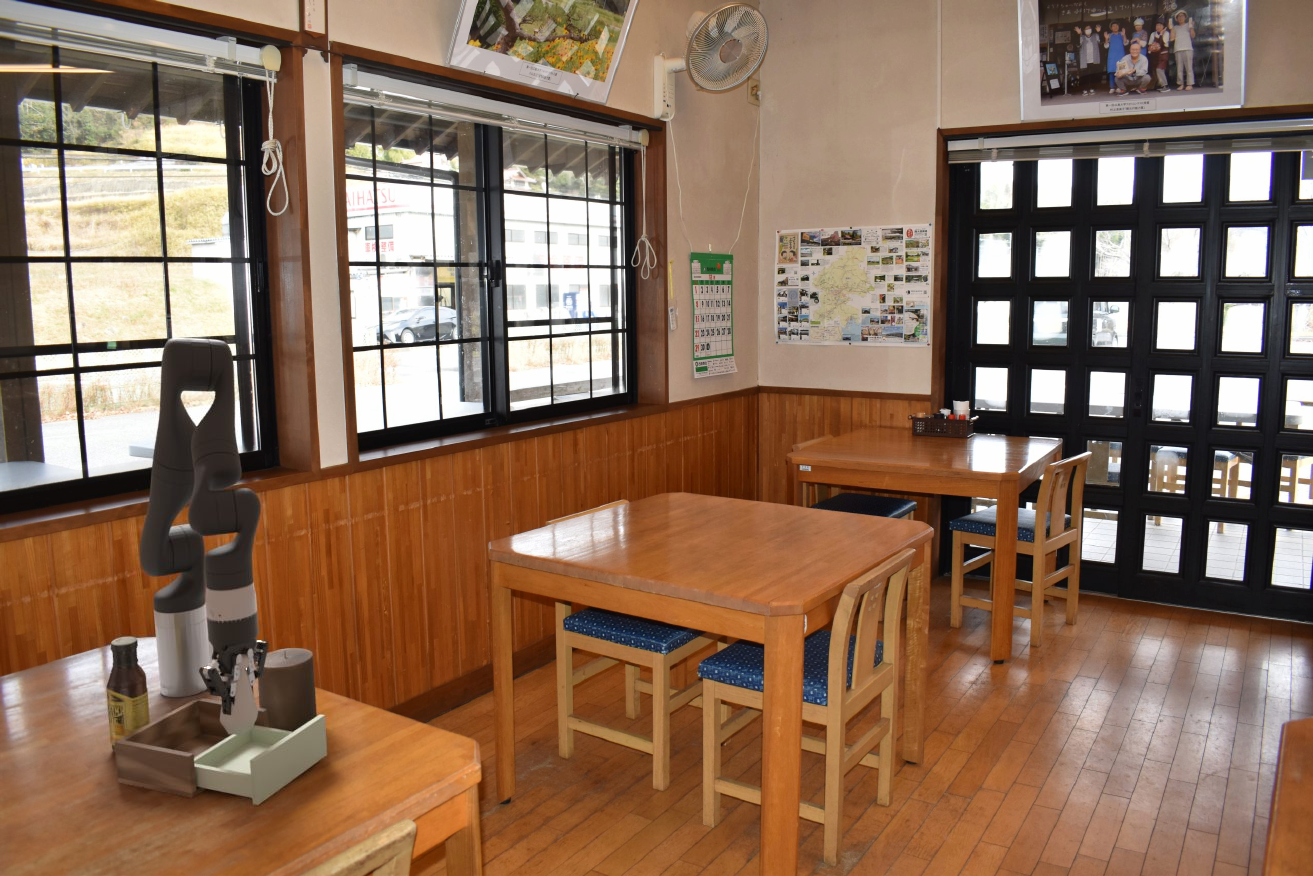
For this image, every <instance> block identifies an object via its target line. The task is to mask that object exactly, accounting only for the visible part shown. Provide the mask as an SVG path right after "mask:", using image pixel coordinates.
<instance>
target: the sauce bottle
mask: <svg viewBox="0 0 1313 876" xmlns="http://www.w3.org/2000/svg"><path fill="white" fill-rule="evenodd" d="M138 646H139V644H138V638H137V637H135V636H122V637H117V638H115V639H113V640H112V641H111V643H110V650H111V652H112V667H111V670H110V673H109V675H108V676H109V677H108V681H107V684H106V686H105V687H106V688H105V689H106V701H107V713H108V715H107V716H108V728H109V741H110V743H111V744H110V745H111V750H112V751H113V752H114V753H115V743H114V742H116V741H118V740H120V739H121V738H123V737H125V736H127V735H129V734H131V733H133V732H135V731H136V730H138V729H140V728H142V727H144V726H146V725H148V724H149V723H151V721H150V706H149V705H150V704H149V691H148V685H147V675H146V673H145V670H144V669H143V668H142V666H140V664H139V658H138Z"/></svg>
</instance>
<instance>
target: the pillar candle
mask: <svg viewBox="0 0 1313 876" xmlns="http://www.w3.org/2000/svg"><path fill="white" fill-rule="evenodd" d="M257 664H258V663H257V662H255V665H257ZM315 680H316V679H315V668H314V653H313V652H312V651H311V650H309V649H307V648H306V649H305V648H298V647H294V648H293V647H291V648H289V647H288V648H282V649H278V650H274V651H270V652H267V655H266V660H265V665H264V669H263V674H262V677H261V678H257V686H258V687H257V689H258V705H259V707H258V708H263V709H267V711H268V727H269V728H274V729H280V730H285V731H291V732H294V731H295V730H297V729H298V728H300V727H301V726H303V725H305V724H306V723H308V722H309V721H311V720H312V719H314V718H315V717H317V716H318V714H317V713H318V712H317V710H318V709H317V698H316V687H315V686H316V683H315Z"/></svg>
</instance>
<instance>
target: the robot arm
mask: <svg viewBox="0 0 1313 876" xmlns="http://www.w3.org/2000/svg"><path fill="white" fill-rule="evenodd" d="M232 353H233V352H232V350H231V347H230V345H229V344H228V343H227V342H225V341H224V340H219V339H209V338H208V339H207V338H191V337H189V338H188V337H186V338H185V337H173V338H170V339H168V340H167V341H166V343H165V345H164V347H163V351H162V355H161V369H160V392H159V393H160V394H159V395H160V396H159V415H158V424H157V429H156V435H155V442H154V447H153V448H154V449H153V456H152V465H151V479H150V488H149V489H150V490H149V499H148V505H147V510H146V515H145V518H144V524H143V526H142V532H141V536H140V543H139V562H140V566H141V568H142V570H143V572H144V573H145V574H146V575H147V576H150V577H154V578H155V577H165V576H171V575H176V574H179V575H178V576H177V578H175V579H174V581H172V582H171V583H170V584H168V585H166V586H164V587H163V588H161V589H160V590H157V591H156V592H155V594H154V595H153V598H152V599H153V600H152V603H153V617H154V628H155V639H156V641H155V642H156V651H157V663H158V675H159V678H158V679H159V688H160V694H161V695H163V696H165V697H168V698H184V697H189V696H194V695H199V694H200V693H203V692H205V691H208V692H209V695H210V696H213V697H220V698H221V699H220V700H221V701H222V712H223V714H225V715H230V716H231V706H232V703H233V705H234V703H235V696H234V695H235V694H236V683H237V681H238V680H239V675H240V670H239V667H238V665H239V664H240V663H241V662H242V654H245V655H246V656H247V657H248V659H249V666H248V667H247V668H246V669H247V673H248V677H249V680H250V684H251V688H252V691H253V695H254V696H255V694H254V685H255V684H256V680H258V678H261V677H262V674H263V669H264V665H265V660H266V655H267V653H268V649H269V647H270V644H269V641H264V640H257V639H256V638H257V637H258V636H259V621H258V605H257V603H258V602H257V592H256V588H255V583H254V572H253V569H254V568H253V552H254V551H253V549H254V543H255V537H256V533H257V530H258V526H259V521H260V517H261V510H262V504H261V501H260V498H259V496H258V494H257V493H256V492H255V491H253V489H251V488H248V487H246V488H245V487H241V488H232V489H231V487H233V486H235V485H236V484H237V483H238V482H239V481H240V480H241V478H242V474H243V473H242V472H243V471H242V466H241V458H240V454H239V453H240V451H239V448H238V443H237V433H236V391H235V365H234V358H233V354H232ZM183 392H203V393H204V392H209V393H210V392H211V393H212V392H214V399H213V401H212V404H211V406H210V407H209V408H208V410H207V411H206V414H204V416H203V417H202V419H200V421H199V423H198V424H197V425H196V423H195V422H194V421H193V419H192V418H191V416H190V415H189V412H188V410H187V409H186V407H185V405H184V402H183V400H182V393H183ZM187 505H188V511H187V519H188V520H187V521H188V523H184V524H178V525H173V523H174V521H175V520H176V519H177V517H178V516H179V514H180V513H181V511H183V510H184V508H186V507H187ZM228 534H236V535H235V537H234V538H233V540H232V541H231V542H228V543H227V544H224V545H221V546H218V547H215V548H212V549H210V550H208V551H207V552H206V547H205V540H204V537H210V536H212V537H213V536H220V535H228ZM256 662H257V663H258V664H256ZM225 673H226V674H232V676H227V675H226V674H225ZM226 682H228V683H229V688H226ZM226 709H227V710H226Z"/></svg>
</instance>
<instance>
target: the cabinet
mask: <svg viewBox="0 0 1313 876" xmlns="http://www.w3.org/2000/svg"><path fill="white" fill-rule="evenodd" d="M221 707H222V700H221V701H220V700H215V699H210V698H209V699H208V698H204V697H196V698H194V699H192V700H191V701H189V702H187V703H185V704H183V705H181V706H179V707H178V708H175V709H174V710H172V711H170V712H168V713H166V714H165V715H163V716H161V717H158V719H156V720H154V721H150V723H149V724H148V725H146V726H144V727H142V728H140V729H138V730H136V731H135V732H133V733H131V734H129V735H127V736H125V737H123V738H121V739H120V740H118V741H116V742H114V743H115V752H114V753H115V763H116V774H117V775H116V776H117V783H118V782H119V784H123V783H124V784H125V785H128V784H131V785H130V786H133V785H135V786H134V787H138V786H139V787H138V788H142V787H144V788H143V789H148V790H152V791H157V792H161V793H166V792H167V794H171V793H173V794H172V795H176V794H177V795H176V796H180V795H181V797H186V798H190V799H193V798H194V797H196V796H197V795H199V794H201V793H202V792H204V791H205V790H206V789H207V788H202V787H197V786H196V777H195V764H194V758H195V757H196V756H198V755H200V754H201V753H203V752H205V751H206V750H208V749H210V748H211V747H213V746H214V745H216V744H218V743H219V742H221V741H223V740H224V739H226V738H228V737H229V736H231V735H233V734H228V732H227V730H226V729H225V728H224V726H223V725H222V724H221V722H220V714H221ZM257 709H258V715H257V719H256V721H255V723H254V725H257V726H263V727H268V711H267V709H263V708H260V707H257ZM268 728H269V727H268ZM124 784H123V785H124Z"/></svg>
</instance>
